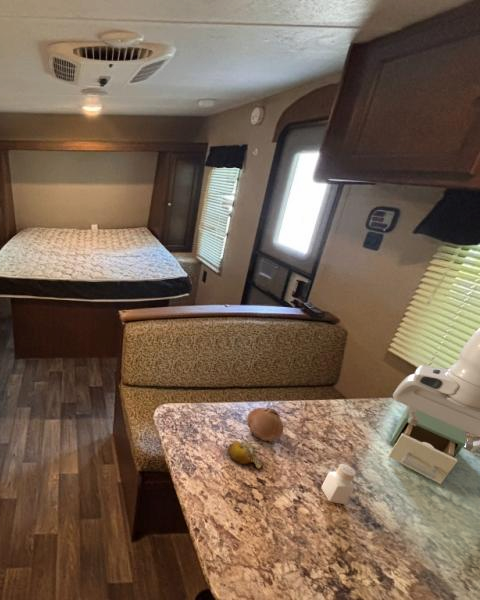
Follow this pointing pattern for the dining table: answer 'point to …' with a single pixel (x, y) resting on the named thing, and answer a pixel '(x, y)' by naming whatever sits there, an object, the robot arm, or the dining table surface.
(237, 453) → the fruit
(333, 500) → the salt shaker
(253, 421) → the onion
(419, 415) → the cabinet
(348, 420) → the dining table surface
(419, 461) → the drawer
